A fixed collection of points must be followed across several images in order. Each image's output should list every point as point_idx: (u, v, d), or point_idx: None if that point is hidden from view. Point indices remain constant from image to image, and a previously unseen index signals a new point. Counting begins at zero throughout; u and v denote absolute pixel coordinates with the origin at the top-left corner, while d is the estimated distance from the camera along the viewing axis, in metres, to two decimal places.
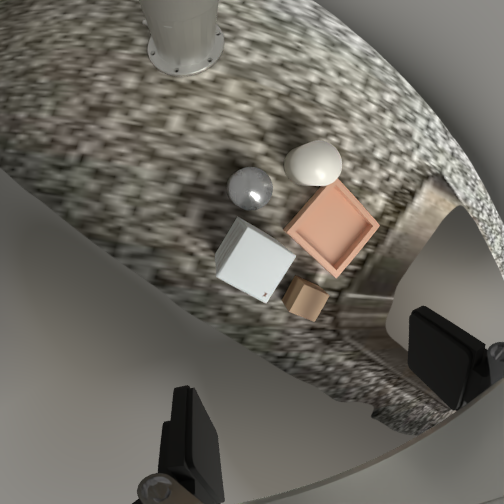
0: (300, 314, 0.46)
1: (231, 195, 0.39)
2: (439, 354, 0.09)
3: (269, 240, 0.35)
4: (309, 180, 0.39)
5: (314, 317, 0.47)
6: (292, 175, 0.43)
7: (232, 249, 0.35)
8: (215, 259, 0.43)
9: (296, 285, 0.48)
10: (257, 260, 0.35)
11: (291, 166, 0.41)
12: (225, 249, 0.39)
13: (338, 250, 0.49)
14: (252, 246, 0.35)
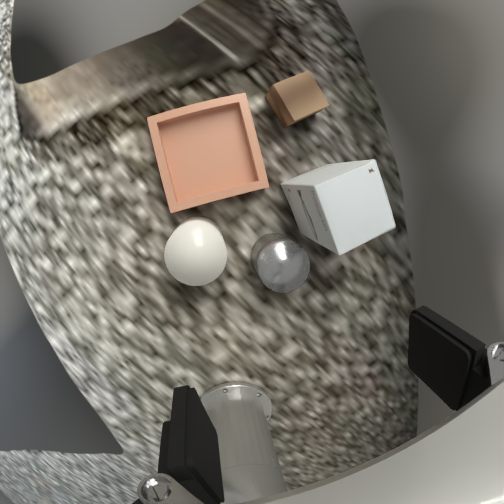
0: (319, 91, 0.30)
1: (307, 272, 0.34)
2: (439, 354, 0.09)
3: (329, 225, 0.26)
4: (222, 244, 0.30)
5: (305, 75, 0.30)
6: None
7: (365, 241, 0.27)
8: None
9: (296, 121, 0.33)
10: (355, 214, 0.26)
11: None
12: None
13: (217, 119, 0.33)
14: (349, 232, 0.26)
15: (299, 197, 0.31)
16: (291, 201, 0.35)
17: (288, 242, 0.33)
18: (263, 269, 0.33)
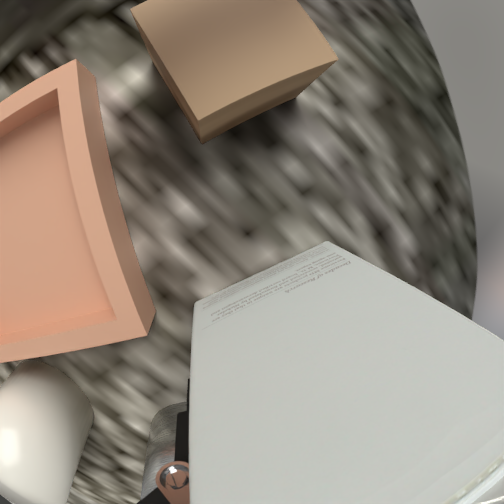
0: (300, 15, 0.07)
1: None
2: None
3: None
4: (38, 490, 0.06)
5: None
6: (78, 440, 0.11)
7: None
8: None
9: (227, 121, 0.10)
10: None
11: (76, 467, 0.11)
12: None
13: (29, 146, 0.10)
14: None
15: None
16: None
17: None
18: None
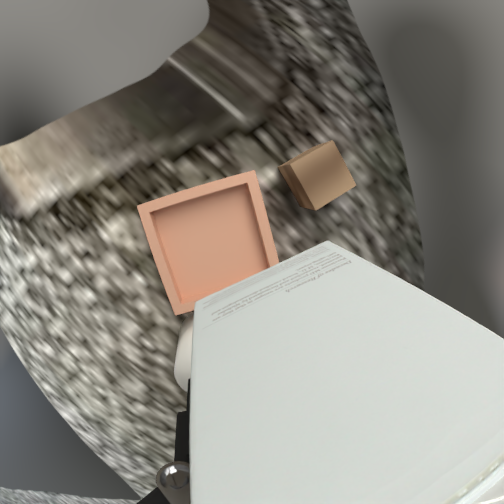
0: (345, 168, 0.27)
1: None
2: None
3: None
4: None
5: (329, 147, 0.26)
6: None
7: None
8: None
9: None
10: None
11: None
12: None
13: (222, 202, 0.30)
14: None
15: None
16: None
17: None
18: None
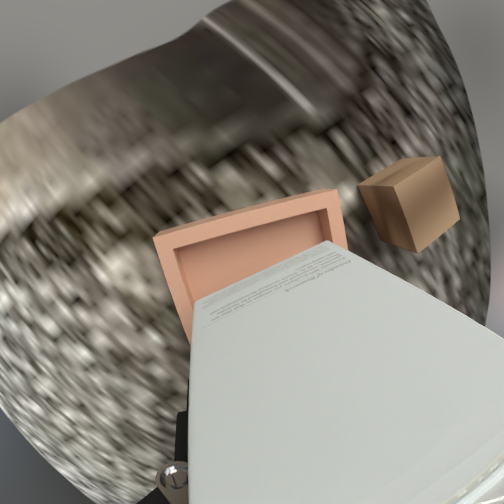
0: (451, 196, 0.17)
1: None
2: None
3: None
4: None
5: (436, 165, 0.16)
6: None
7: None
8: None
9: None
10: None
11: None
12: None
13: (282, 234, 0.20)
14: None
15: None
16: None
17: None
18: None
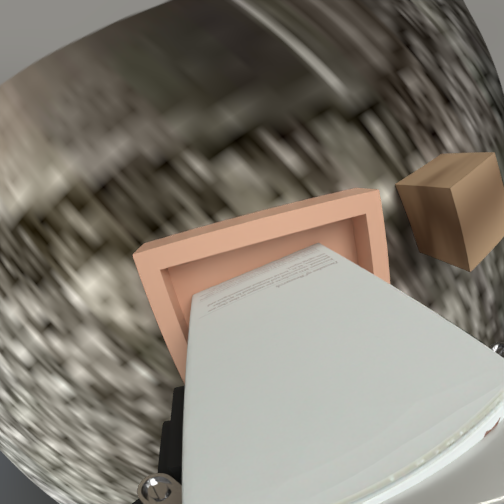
0: None
1: None
2: None
3: None
4: None
5: (491, 163, 0.12)
6: None
7: None
8: None
9: None
10: None
11: None
12: None
13: None
14: None
15: None
16: None
17: None
18: None
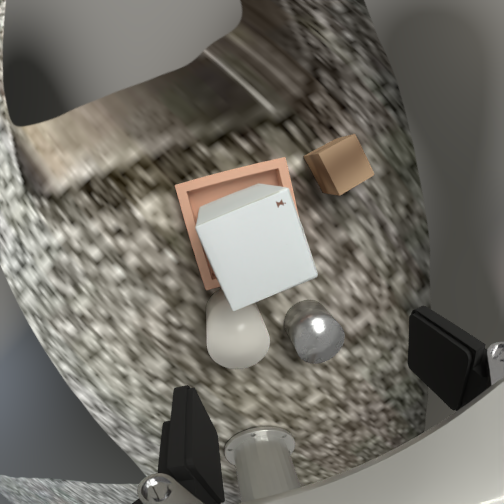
0: (365, 159, 0.29)
1: (341, 344, 0.33)
2: (439, 354, 0.09)
3: (218, 275, 0.21)
4: (266, 332, 0.29)
5: (352, 139, 0.28)
6: None
7: None
8: None
9: None
10: (254, 261, 0.21)
11: None
12: None
13: None
14: (246, 284, 0.21)
15: None
16: None
17: (326, 320, 0.32)
18: (301, 345, 0.32)
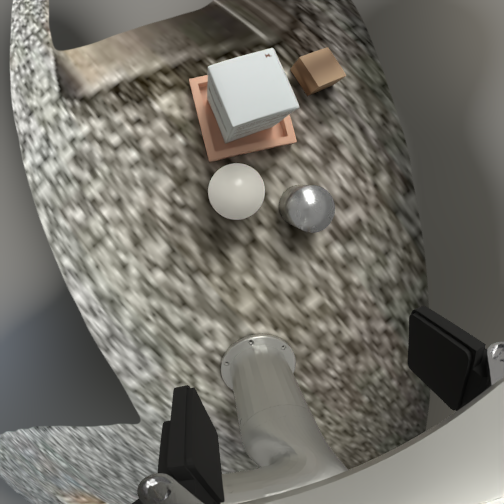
0: (337, 64, 0.33)
1: (332, 215, 0.37)
2: (439, 354, 0.09)
3: (222, 98, 0.25)
4: (261, 181, 0.33)
5: (325, 50, 0.33)
6: None
7: (264, 117, 0.26)
8: None
9: (318, 89, 0.36)
10: (249, 89, 0.25)
11: None
12: (266, 123, 0.31)
13: None
14: (243, 105, 0.25)
15: (210, 94, 0.30)
16: (212, 108, 0.34)
17: (316, 186, 0.36)
18: (294, 209, 0.36)
